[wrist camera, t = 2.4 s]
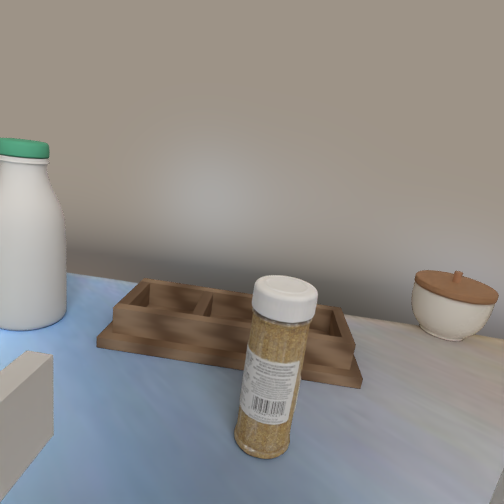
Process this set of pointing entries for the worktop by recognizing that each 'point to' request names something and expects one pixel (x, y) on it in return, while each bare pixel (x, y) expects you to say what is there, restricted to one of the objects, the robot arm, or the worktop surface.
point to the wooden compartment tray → (220, 330)
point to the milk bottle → (30, 239)
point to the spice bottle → (274, 363)
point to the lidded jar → (451, 304)
